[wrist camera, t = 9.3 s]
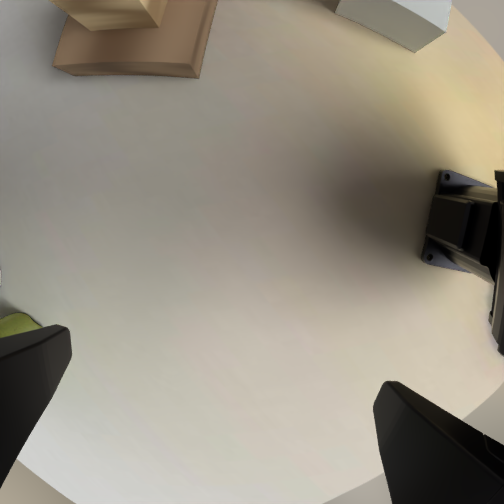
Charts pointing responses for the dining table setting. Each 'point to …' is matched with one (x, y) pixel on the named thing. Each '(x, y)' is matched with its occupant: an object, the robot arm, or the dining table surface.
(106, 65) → the walnut block
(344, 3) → the grey block
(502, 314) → the robot arm
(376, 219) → the dining table surface
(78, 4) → the oak block
